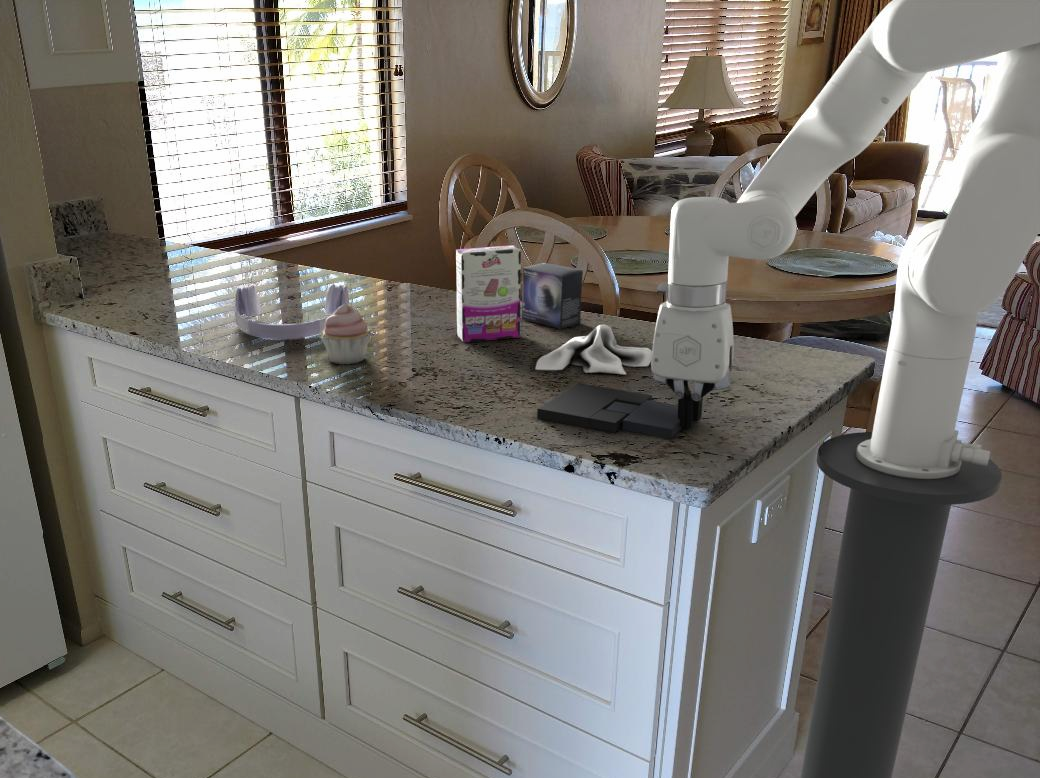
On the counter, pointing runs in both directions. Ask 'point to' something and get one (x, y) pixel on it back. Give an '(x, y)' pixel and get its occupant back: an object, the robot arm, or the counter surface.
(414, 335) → the counter surface
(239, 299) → the headphones
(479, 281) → the candy bar box
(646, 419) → the charcoal pad
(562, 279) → the small box
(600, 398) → the black notched block
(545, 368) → the cloth
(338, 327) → the cupcake
